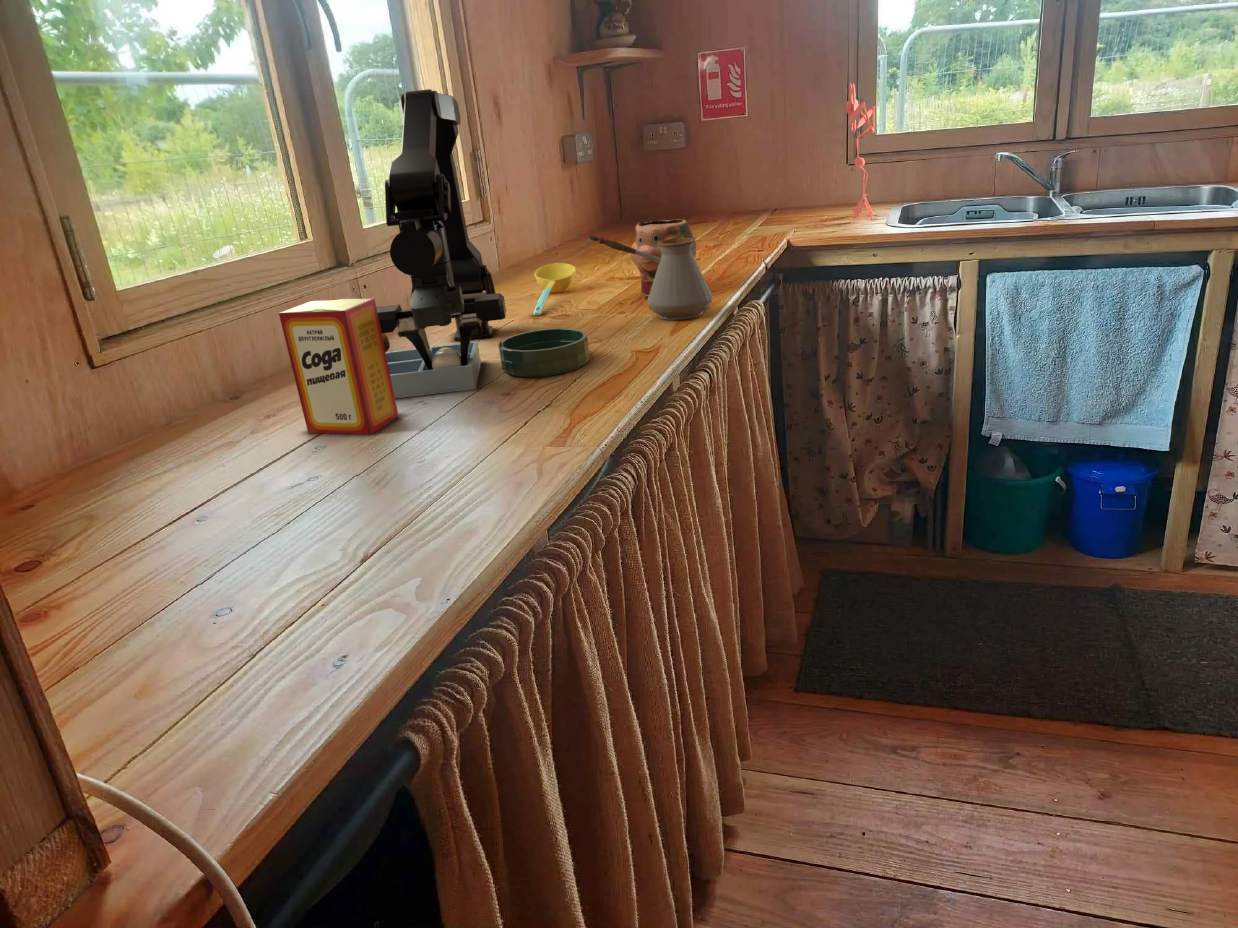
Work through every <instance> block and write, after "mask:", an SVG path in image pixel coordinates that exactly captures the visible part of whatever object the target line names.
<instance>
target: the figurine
mask: <svg viewBox="0 0 1238 928" xmlns="http://www.w3.org/2000/svg"><path fill="white" fill-rule="evenodd" d="M848 88H849V89H848V90H849V91H848V94H849V96H848V97H849V99H848V100H847V102H846V113H847V115H848V116H849V121H848V126H849V127H850V131H851V132H852V131H853V133H854V134H855V133H856V130H858V129H859V128H861V126H863V125H864V124H865V123H866V124H867V126H868V127H867V129H865V130H864V131H863V132H861V133H860V134H859V135H858V136H856V138H855V145H856V157H857V158H856V159H855V160H854V166H855V167H856V168H858V169H860V170H862V172H863V174H862V175H863V176H862V178H863V179H862V195H861V199H860V200H859V202H858V203H857V204H856V206H855V207H854V209H853V211H852V212H851V215H853V216H852V217H853V218H852V220H853V221H856V219H858V218H859V216H860V215H861V214H862V212H863V211H864V209H866V211H867V213H868V216H869V217H870V219H871V220H872V221H873V220H874V215H875V213H874V211H873V210H872V207H871V206H870V203H869V202H868V199H867V197H866V196H867V193H865V192H866V187H867V182H868V176H869V175H868V173H867V171H866V169H865V168H864V166H865V164H866V162H865V161H866V160H865V159H864V158H863V157H860V154H859V153H860V152H859V151H860V150H859V139H860V138H861V137H862V136H864V134H866V133H867V132H868V131H869V132H872V134H875V129H876V127H875V126H876V125H875V124H876V123H875V119H876V118H875V114H876V113H875V111H876V106H874V105H872V107H870V108H869V109H868V110H867V108H866V107H867V106H866V102H865V101H864V100H863V101H861V103H860V104H859V100H858V99H856V96H857V95H856V86H855V83H854V82H853V83H851V82H850V83H849V85H848ZM863 111H864V112H863ZM860 115H861V117H860V119H859V120H858V122H857V119H858V117H859V116H860ZM871 116H872V124H871V121H870V117H871ZM826 218H827V216H823V217H822V218H821V221H822V222H823V223H826V221H825V220H824V219H826ZM827 223H829V224H834V222H831V221H827Z"/></svg>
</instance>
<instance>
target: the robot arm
mask: <svg viewBox="0 0 1238 928" xmlns="http://www.w3.org/2000/svg"><path fill="white" fill-rule="evenodd" d="M397 104H398V110H399V118H400V124H401V128H402V135H401V147H400V148H401V149H400V154H399V156H398V157H396V158H395V159H394V160H393V161H392V162H391V163H390V165H389V171H388V175H387V177H388V178H387V179H385V180H384V198H385V199H384V200H385V221H386V227H394V226H395V227H397V226H398V228H399V229H398V230H399V232H398V234H396V235H395V236H394V238H393V239H392V240H391V242H390V243H391V244H390V249H389V257H390V260H391V263H393V265H394V267H395V268H396V269H397V270H398V271H399V272H401V273H403V275H408V276H410V280H411V286H412V287H411V292H410V309H404V310H403V309H402V306H401V304H399V303H398V304H391V305H383V306H376V308H377V313H378V318H379V323H380V328H381V333H385V334H389V333H393V332H394V331H395V330H396V329H398V330H397V331H398V332H397V335H398V337H399V338H406V339H407V340H408V341H409V342H410V343H411V344H412V345H413V346H414V349H417V351H418V352H419V354H420V356H421V357H422V359H423V361H424V363H425V364H426V366H427V368H428V370H433V368H432V355H431V351H430V348H429V347H430V344H429V340H428V336H427V333H426V329H427V328H429V327H430V328H431V327H437V326H438V327H446V326H449V325H450V324H451V323H452V319H454V322H455V327H456V330H455V334H454V336H453V338H454V340H453V341H459V344H460V348H461V364H462V366H467V359H468V352H469V345H470V342H471V339H478V338H479V339H480V338H488V337H492V335H493V329H494V328H493V325H490V324H489V322H492V321H493V322H495V321H502V320H504V319H506V316H507V315H506V314H507V305H506V300H505V296H504V295H502V293H500V292H497V293H496V289H495V283H494V279H493V276H492V273H491V271H489V268H488V266H487V264H484V263H483V258H482V253H481V252H480V251H479V249H478V248H477V247H476V246H475V244H474V243H472V241H471V240H470V239H469V234H468V228H467V224H466V218H465V213H464V207H463V206H464V205H463V201H462V196H461V190H460V187H459V186H460V185H459V179H458V174H457V169H456V164H455V158H454V152H453V150H454V148H455V145H456V142H457V139H458V136H459V134H460V130H459V126H460V125H461V113H460V107H459V104H458V100H457V99H456V98H455V96H453V95H449V93H441V92H438V91H437V90H432V89H431V88H429V89H428V88H427V89H418V90H409V91H405V92H404V93H401V95H400V99H399V100H398V101H397Z"/></svg>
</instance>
